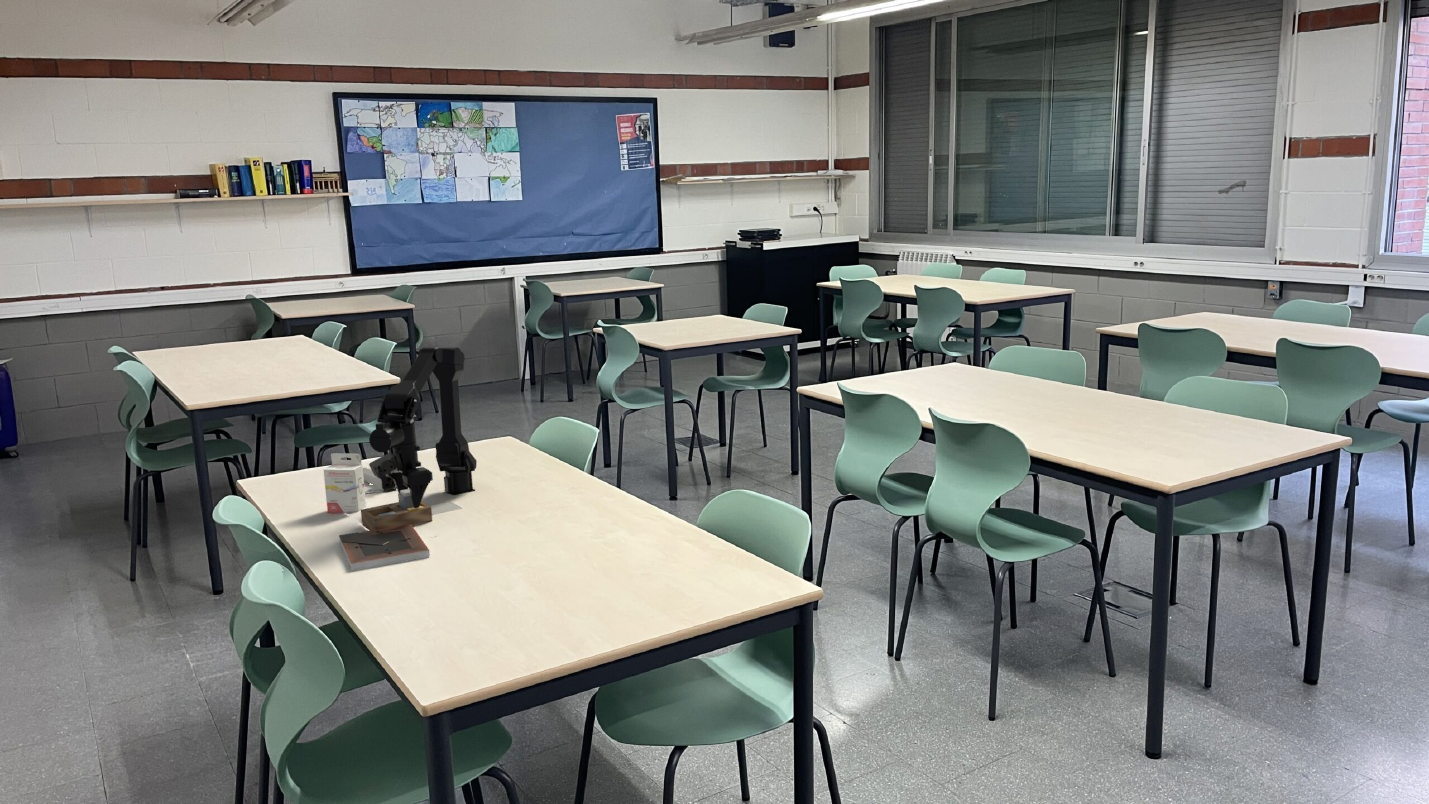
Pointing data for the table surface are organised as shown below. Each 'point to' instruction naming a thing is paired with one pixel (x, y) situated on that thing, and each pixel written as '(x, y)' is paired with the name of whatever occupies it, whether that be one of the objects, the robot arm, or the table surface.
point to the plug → (405, 499)
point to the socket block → (394, 516)
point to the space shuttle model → (377, 482)
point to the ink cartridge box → (345, 484)
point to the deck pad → (444, 507)
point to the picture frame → (382, 546)
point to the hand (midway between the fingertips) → (409, 503)
